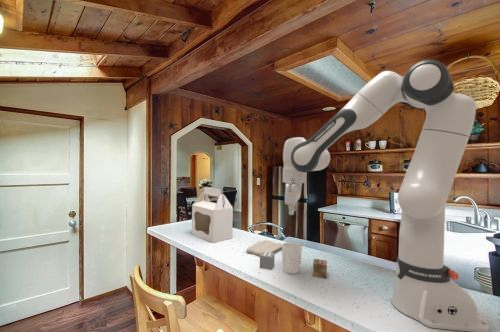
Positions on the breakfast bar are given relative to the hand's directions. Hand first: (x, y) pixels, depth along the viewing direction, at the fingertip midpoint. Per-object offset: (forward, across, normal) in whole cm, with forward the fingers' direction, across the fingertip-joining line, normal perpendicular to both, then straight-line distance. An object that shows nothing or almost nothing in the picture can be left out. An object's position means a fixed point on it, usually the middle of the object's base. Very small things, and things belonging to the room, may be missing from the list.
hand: (292, 212), depth 98 cm
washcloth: (+24, +18, +15) cm, 33 cm away
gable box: (+23, +29, +50) cm, 62 cm away
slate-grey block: (+23, 0, +10) cm, 25 cm away
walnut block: (+23, 0, -11) cm, 26 cm away
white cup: (+23, 0, 0) cm, 23 cm away
